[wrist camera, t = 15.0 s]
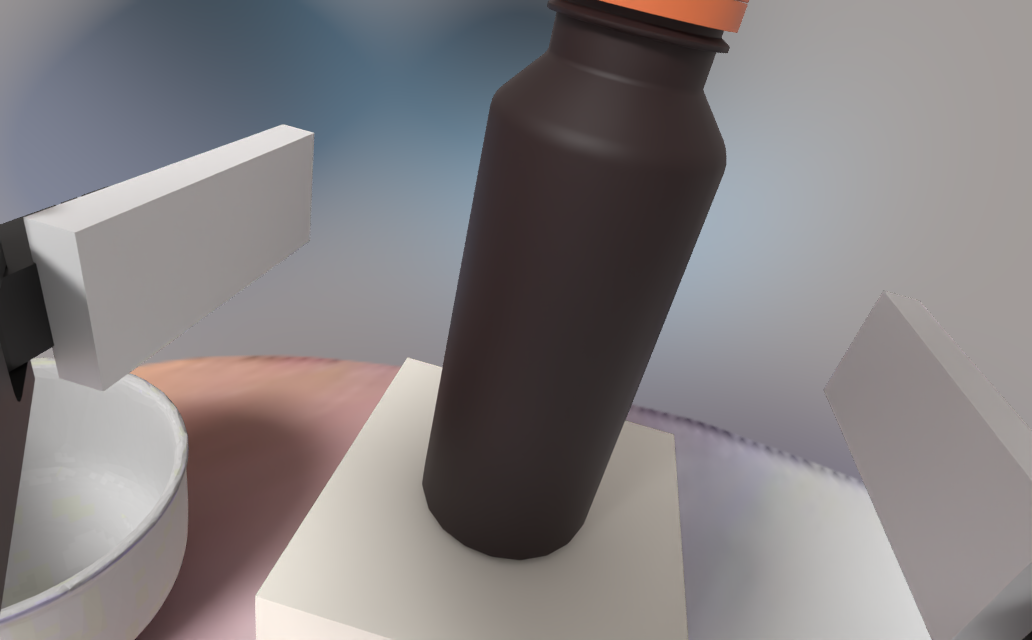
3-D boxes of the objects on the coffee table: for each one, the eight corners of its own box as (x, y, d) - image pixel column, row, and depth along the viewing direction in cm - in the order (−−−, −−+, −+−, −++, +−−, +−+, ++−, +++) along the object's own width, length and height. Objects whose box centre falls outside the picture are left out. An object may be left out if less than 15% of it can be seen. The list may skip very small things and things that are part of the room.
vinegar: (385, 507, 22) (479, -151, 12) (472, 413, 28) (586, -93, 18) (547, 599, 21) (814, -86, 10) (606, 480, 26) (818, -44, 16)
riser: (636, 515, 33) (674, 434, 30) (633, 818, 21) (694, 734, 18) (395, 443, 34) (407, 357, 31) (257, 696, 22) (254, 596, 19)
